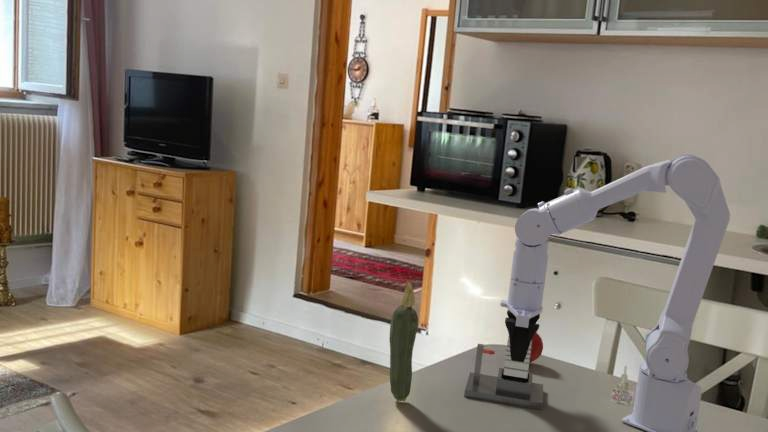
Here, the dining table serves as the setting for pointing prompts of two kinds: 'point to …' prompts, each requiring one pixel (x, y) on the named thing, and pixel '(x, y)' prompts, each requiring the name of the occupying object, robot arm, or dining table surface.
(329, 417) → the dining table surface
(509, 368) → the column
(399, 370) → the vegetable
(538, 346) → the onion
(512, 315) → the robot arm
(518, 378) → the jack base
